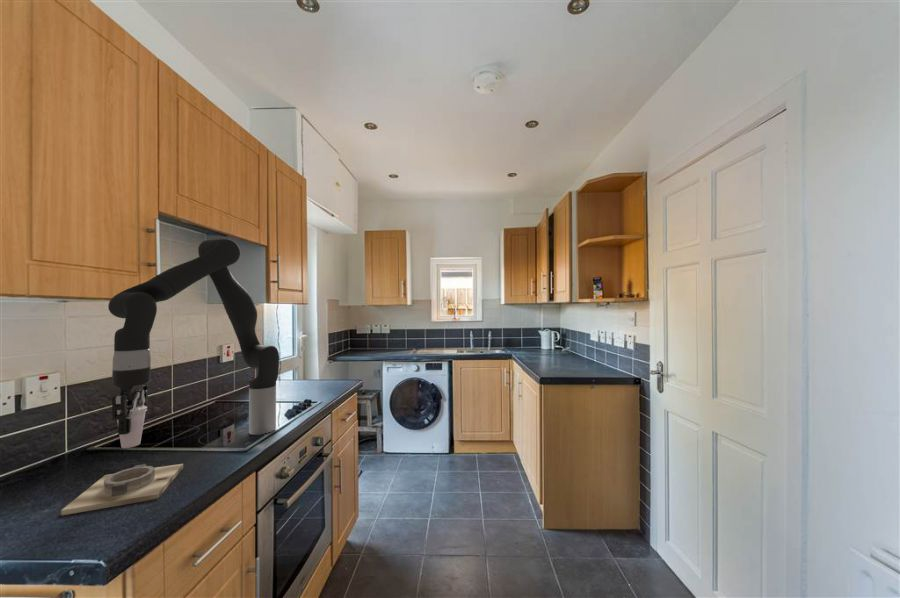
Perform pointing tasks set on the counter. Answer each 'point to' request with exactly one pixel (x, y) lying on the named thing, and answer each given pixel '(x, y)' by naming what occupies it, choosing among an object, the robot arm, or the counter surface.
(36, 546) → the counter surface
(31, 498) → the counter surface
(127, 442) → the smoothie
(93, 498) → the holder
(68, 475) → the counter surface
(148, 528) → the counter surface
